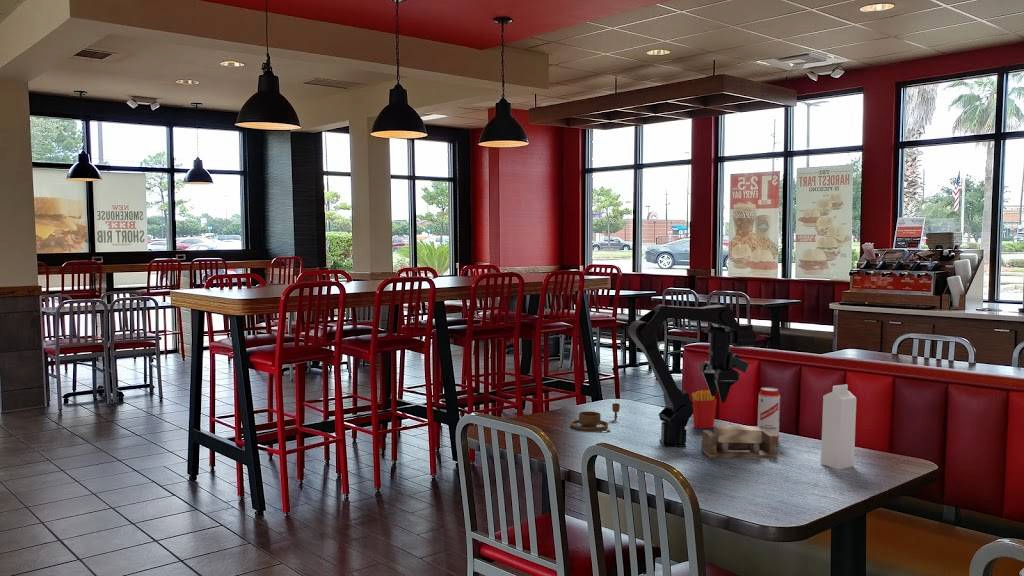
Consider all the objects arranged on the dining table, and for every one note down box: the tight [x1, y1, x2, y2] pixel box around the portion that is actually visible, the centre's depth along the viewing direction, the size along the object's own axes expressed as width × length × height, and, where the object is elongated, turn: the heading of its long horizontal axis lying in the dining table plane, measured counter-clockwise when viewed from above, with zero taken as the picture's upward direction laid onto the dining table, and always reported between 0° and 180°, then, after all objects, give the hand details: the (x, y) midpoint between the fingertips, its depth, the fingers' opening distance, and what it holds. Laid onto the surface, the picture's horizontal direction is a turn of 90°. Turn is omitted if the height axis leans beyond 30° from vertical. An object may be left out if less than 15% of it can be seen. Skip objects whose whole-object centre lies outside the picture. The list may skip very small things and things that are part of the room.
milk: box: [820, 383, 857, 471], centre depth 214 cm, size 6×6×22 cm
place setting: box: [570, 402, 621, 433], centre depth 258 cm, size 18×20×6 cm
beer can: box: [756, 386, 781, 443], centre depth 240 cm, size 6×6×16 cm
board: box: [713, 425, 762, 443], centre depth 225 cm, size 12×5×4 cm, turn 88°
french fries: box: [691, 389, 718, 429], centre depth 258 cm, size 8×4×12 cm, turn 111°
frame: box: [700, 429, 778, 459], centre depth 225 cm, size 19×8×6 cm, turn 94°
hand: (718, 399), depth 238 cm, fingers open, 9 cm apart
